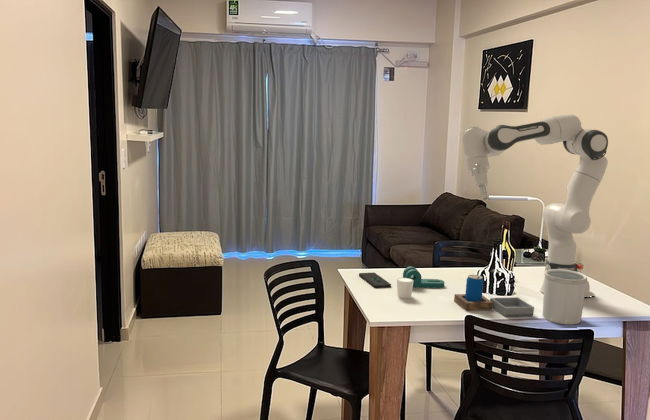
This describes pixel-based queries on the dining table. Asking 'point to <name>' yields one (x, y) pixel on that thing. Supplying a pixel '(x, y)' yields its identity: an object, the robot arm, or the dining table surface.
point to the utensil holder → (564, 296)
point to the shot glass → (404, 287)
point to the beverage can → (474, 288)
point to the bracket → (421, 282)
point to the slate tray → (512, 307)
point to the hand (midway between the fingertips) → (484, 198)
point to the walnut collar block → (473, 303)
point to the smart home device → (375, 280)
